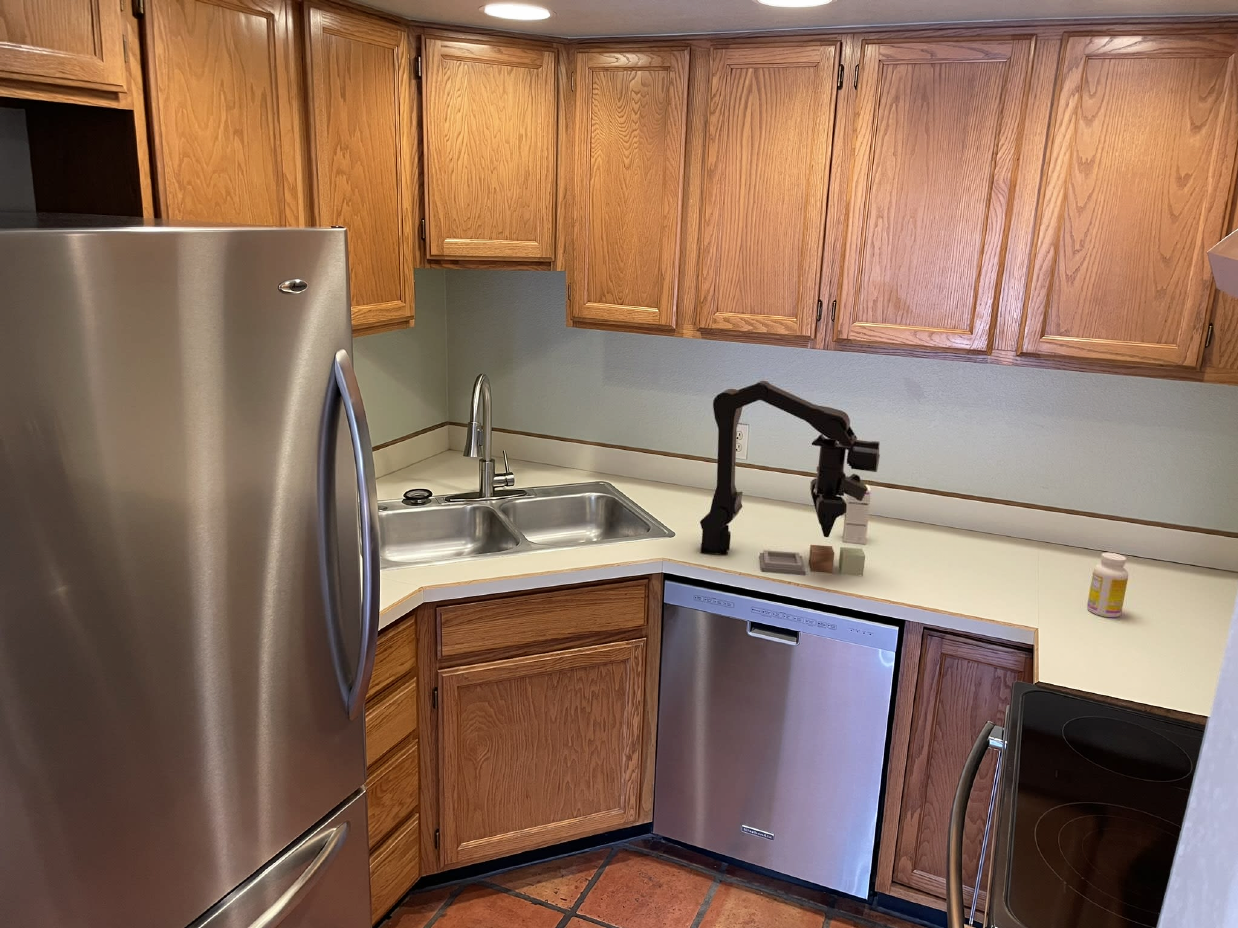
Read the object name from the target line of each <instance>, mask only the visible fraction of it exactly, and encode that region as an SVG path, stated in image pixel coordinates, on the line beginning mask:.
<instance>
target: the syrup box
mask: <svg viewBox="0 0 1238 928" xmlns="http://www.w3.org/2000/svg"><path fill="white" fill-rule="evenodd" d="M864 484H865V485H866V487H867V489H868V490H867V492H866V494H865V495H864V497H863V499H862V501H859V500H857V499H856V498H854V497H852V496H849V495H847V494H846V499H845V502H846V504H847V508H846V513H844V520H843V529H842V530H843V531H842V538H843V539H842V541H843V542H844V543H850V544H856V545H857V544H858V545H866V543H867V535H868V534H867V533H868V523H869V517H870V516H869V515H870V504H871V494H872V490H871V485H870V484H866V483H864Z"/></svg>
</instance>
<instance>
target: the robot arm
mask: <svg viewBox="0 0 1238 928" xmlns="http://www.w3.org/2000/svg"><path fill="white" fill-rule="evenodd" d="M758 401H762V402H764V403H766V404H768V405H771V406H772V407H775V408H777V409H778V410H781V411H783V412H786V413H788V414H790V415H791V416H794V417H795V418H798V419H800V420H803V421H805V422H806V423H807V424H809V425H810V426H811V427H812V428H813V429H815V430H816V431H817V432H818V433H820V434H819V436H817V437H816V438H815V439H813V440H812V442H811V446H813V447H814V446H815V447H819V448H820V449H819V454H818V455H819V457H818V464H817V465H818V466H816V472H817V475H816V477H815V478H813V479H812V480H811V481H810V485H809V487H810V488H809V489H810V494H811V495H810V496H811V499H812V501H813V505H814V509H815V514H816V516H817V519H818V524H819V525H820V527H821V532H822V535H823V536H822V537H824V538H830V535H831V532H832V530H833V527H834V525H835V523H836V520H837V519H838V518H839V517H841V516H843V515H845V513H846V508H847V504H846V499H844V498H843V497H844V496H845V495H846V496H847V495H849V496H852V497H854V498H856V499H857V500H859V501H862V499H863V497H864V495H865V494H866V492H867V490H868V489H867V487H866V485H865V484H866V483H864V482H861V477H860V475H859V474H856V473H853V474H851V475H850V476H847V475H846V473H845V471H844V470H845V469H844V468H845V460H846V465H848V467H850V468H851V470H857V471H865V472H872V473H878V470H879V469H878V468H879V463H880V457H881V456H880V455H881V454H880V441H875V440H872V441H870V440H869V441H868V440H860V439H858V437H857V436H856V434H855V432H854V430H853V429H852V427H851V420H850V417H849V415H848V414H847V413H846V412H845V411H843V410H841V409H837V408H834V407H833V408H832V407H829V406H825V405H824V406H822V405H818V404H815V403H812V402H810V401H808V400H805V399H803V398H802V397H799V396H796V395H795V394H793V393H791V392H789V391H786V390H784V389H781V388H779V387H777V386H775V385H773V384H771V383H770V382H768V381H766V380H760V381H758V382H756V383H754V384H751V385H747V386H746V387H745V386H744V387H743V388H740V389H738V390H737V389H735V388H727V389H726V390H724V391H722V392H720V393H718V394H717V395H716V396H715V397H714V399H713V401H712V407H713V408H712V409H713V416H714V419H715V423H716V426H717V429H718V430H717V432H718V433H717V434H718V436H717V465H716V467H717V468H716V487H715V488H716V489H715V492H714V494H713V497H712V499H711V500H712V501H711V505H710V510H709V512H708V513H707V514H705V516H703V518H702V519H701V520H700V521H699V524H700V528H701V530H702V531H701V533H702V534H701V535H702V536H701V542H700V553H701V554H709V555H710V554H711V555H724V556H725V555H726V556H727V555H728V551H730V549H731V548H730V545H731V538H732V537H731V536H732V535H731V531H730V528H729V524H730V523H731V522H732V521H733V520H734V519H736V517H737V515H739V513H740V511H741V510H742V508H744V507H743V503H742V498H743V491H738V490H737V488H736V458H737V457H736V453H737V429H738V425H739V422H740V419H741V415H742V411H743V407H745V406H748V405H750V404H752V403H756V402H758ZM846 451H847V452H846ZM846 453H847V456H846Z"/></svg>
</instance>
